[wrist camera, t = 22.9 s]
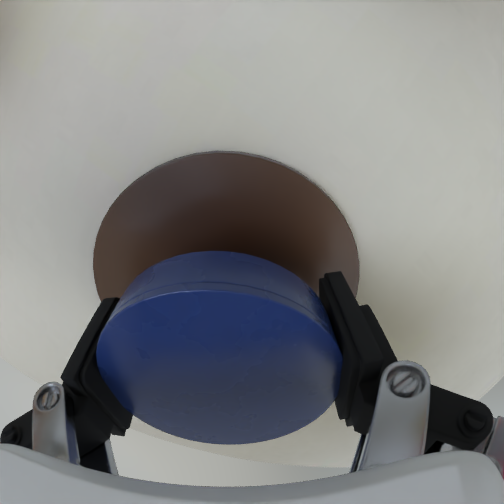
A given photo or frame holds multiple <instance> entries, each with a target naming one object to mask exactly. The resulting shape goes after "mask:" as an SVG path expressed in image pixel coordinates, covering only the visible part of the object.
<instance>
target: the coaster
mask: <svg viewBox="0 0 504 504" xmlns="http://www.w3.org/2000/svg"><path fill="white" fill-rule="evenodd" d="M202 251H230V252H236V253H243V254H248V255H252V256H255V257H259V258H262V259H265V260H268V261H270V262H273V263H275V264H277V265H280V266H282V267H283V268H285V269H287V270H288V271H290V272H292V273H294V274H295V275H296V276H298V277H299V278H300V279H301V280H303V281H304V282H305V283H306V284H307V285H308V286H309V287H310V288H311V289H312V290H313V291H314V292H315V293H316V294H317V296H318V297H319V279H320V278H324V274H325V273H330V272H337V271H341V272H342V274H343V276H344V277H345V279H346V281H347V283H348V285H349V287H350V289H351V291H352V293H353V295H354V297H356V294H357V289H358V282H359V259H358V252H357V247H356V244H355V241H354V238H353V235H352V232H351V230H350V228H349V226H348V224H347V222H346V220H345V218H344V216H343V215H342V213H341V212H340V211H339V209H338V208H337V207H336V205H335V204H334V203H333V201H332V200H331V199H330V198H329V197H328V196H327V195H326V194H325V193H324V192H323V191H322V190H321V189H320V188H319V187H318V186H317V185H316V184H315V183H313V182H312V181H311V180H309V179H308V178H306V177H305V176H304V175H302V174H301V173H299V172H298V171H296V170H294V169H292V168H290V167H288V166H286V165H284V164H282V163H280V162H277V161H274V160H271V159H269V158H266V157H263V156H259V155H254V154H249V153H243V152H235V151H210V152H201V153H194V154H190V155H186V156H183V157H179V158H175V159H173V160H170V161H168V162H166V163H164V164H161V165H159V166H157V167H155V168H153V169H152V170H150V171H149V172H147V173H146V174H144V175H142V176H141V177H139V178H138V179H137V180H135V181H134V182H133V183H132V184H131V185H130V186H129V187H127V188H126V189H125V190H124V191H123V192H122V193H121V194H120V195H119V197H118V198H117V199H116V200H115V202H114V203H113V204H112V205H111V207H110V208H109V210H108V212H107V214H106V215H105V217H104V219H103V221H102V223H101V226H100V229H99V231H98V234H97V238H96V242H95V248H94V258H93V270H94V279H95V284H96V288H97V292H98V295H99V298H100V300H101V302H102V301H103V299H105V298H113V297H118V298H121V297H122V295H123V293H124V292H125V290H126V289H127V287H128V286H129V285H130V284H131V282H132V281H133V280H134V279H135V278H136V277H137V276H138V275H140V274H141V273H142V272H144V271H145V270H146V269H148V268H149V267H151V266H153V265H155V264H157V263H159V262H161V261H163V260H166V259H169V258H172V257H174V256H178V255H182V254H187V253H192V252H202Z"/></svg>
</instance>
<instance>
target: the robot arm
mask: <svg viewBox="0 0 504 504" xmlns="http://www.w3.org/2000/svg"><path fill="white" fill-rule="evenodd" d="M319 299H320V300H321V302H322V303H323V305H324V308H325V310H326V312H327V314H328V317H329V320H330V322H331V325H332V328H333V331H334V333H335V336H336V339H337V341H338V344H339V347H340V350H341V353H342V355H343V363H342V370H341V378H340V385H339V392H338V396H337V397H336V399H335V404H336V408H337V412H338V416H339V419H340V420H341V419H345V421H346V425H347V427H348V426H352V425H353V426H354V430H355V431H356V432H358V433H360V434H361V435H360V438H359V442H358V445H357V449H356V452H355V455H354V458H353V462H352V465H351V468H350V471H349V473H348V474H344V475H339V476H333V477H328V478H322V479H317V480H310V481H303V482H296V483H287V484H278V485H266V486H248V487H247V486H246V487H209V486H207V487H206V486H188V485H177V484H167V483H159V482H152V481H145V480H139V479H133V478H127V477H123V476H119V475H118V471H117V467H116V463H115V459H114V455H113V451H112V447H111V442H110V439H109V438H110V435H111V434H112V435H119V436H125V432H126V429H128V428H129V427H130V424H131V420H132V416H133V414H132V413H130V412H129V411H128V410H126V409H125V408H124V407H123V406H122V405H121V403H120V402H119V401H118V399H117V398H116V397H115V395H114V394H113V393H112V391H111V390H110V389H109V387H108V386H107V384H106V383H105V381H104V380H103V379H102V377H101V375H100V373H99V369H98V366H97V357H96V351H97V343H98V340H99V337H100V334H101V332H102V330H103V328H104V327H105V325H106V323H107V321H108V319H109V318H110V316H111V314H112V312H113V311H114V309H115V307H116V305H117V304H118V302H119V300H120V298H118V297H113V298H105V299H103V301H102V302H101V304H100V306H99V307H98V309H97V311H96V312H95V314H94V316H93V317H92V319H91V321H90V323H89V324H88V326H87V328H86V330H85V331H84V333H83V335H82V337H81V339H80V340H79V342H78V344H77V346H76V348H75V350H74V352H73V354H72V355H71V357H70V359H69V361H68V363H67V365H66V367H65V369H64V371H63V373H62V375H61V377H60V378H61V379H62V380H63V381H64V382H63V384H62V385H61V384H59V383H58V382H49V383H46V384H44V385H43V386H42V387H40V388H39V390H38V391H37V392H36V394H35V396H34V400H33V409H32V410H30V411H29V412H27V413H25V414H24V415H22V416H21V417H19V418H17V419H16V420H14V421H12V422H11V423H9V424H8V425H7V426H5V428H4V429H3V431H2V434H1V438H0V504H504V417H501V416H498V417H497V418H494V417H493V416H492V413H491V411H490V409H489V408H488V407H487V406H486V405H485V404H483V403H481V402H479V401H476V400H473V399H470V398H467V397H464V396H461V395H459V394H456V393H453V392H450V391H448V390H445V389H442V388H439V387H437V386H434V385H431V384H430V376H429V374H428V372H427V371H426V369H424V368H423V367H422V366H421V365H419V364H418V363H416V362H412V361H397V359H396V357H395V354H394V352H393V350H392V348H391V346H390V344H389V342H388V340H387V338H386V336H385V334H384V332H383V331H382V329H381V327H380V325H379V323H378V321H377V319H376V317H375V315H374V313H373V311H372V310H371V308H370V307H369V305H362V306H359V305H358V303H357V301H356V299H355V297H354V295H353V293H352V291H351V289H350V287H349V285H348V283H347V281H346V279H345V277H344V276H343V274H342V272H341V271H337V272H330V273H325V274H324V278H320V279H319Z"/></svg>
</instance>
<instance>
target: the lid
mask: <svg viewBox="0 0 504 504" xmlns="http://www.w3.org/2000/svg"><path fill="white" fill-rule="evenodd" d="M96 357H97V366H98V369H99V373H100V375H101V377H102V379H103V380H104V381H105V383H106V384H107V386H108V387H109V389H110V390H111V391H112V393H113V394H114V395H115V397H116V398H117V399H118V401H119V402H120V403H121V405H122V406H123V407H124V408H125V409H126V410H128V411H129V412H130V413H132V414H133V415H134V416H136V417H137V418H139V419H140V420H142V421H143V422H145V423H147V424H149V425H151V426H152V427H154V428H157V429H159V430H161V431H163V432H166V433H168V434H171V435H174V436H177V437H181V438H184V439H188V440H193V441H198V442H204V443H212V444H248V443H256V442H262V441H267V440H271V439H275V438H278V437H281V436H284V435H287V434H290V433H292V432H294V431H297V430H299V429H301V428H302V427H304V426H306V425H308V424H309V423H311V422H312V421H314V420H315V419H317V418H318V417H319V416H320V415H322V414H323V413H324V412H325V411H326V410H327V409H328V408H329V407H330V406H331V404H332V403H333V402H334V400H335V399H336V397H337V396H338V392H339V385H340V378H341V370H342V363H343V355H342V353H341V350H340V347H339V344H338V341H337V339H336V336H335V333H334V331H333V328H332V325H331V322H330V320H329V317H328V314H327V312H326V310H325V308H324V305H323V303H322V302H321V300H320V299H319V297H318V296H317V294H316V293H315V292H314V291H313V290H312V289H311V288H310V287H309V286H308V285H307V284H306V283H305V282H304V281H303V280H301V279H300V278H299V277H298V276H296V275H295V274H294V273H292V272H290V271H288V270H287V269H285V268H283V267H282V266H280V265H277V264H275V263H273V262H270V261H268V260H265V259H262V258H259V257H255V256H252V255H248V254H243V253H236V252H230V251H202V252H192V253H187V254H182V255H178V256H174V257H172V258H169V259H166V260H163V261H161V262H159V263H157V264H155V265H153V266H151V267H149V268H148V269H146V270H145V271H144V272H142V273H141V274H140V275H138V276H137V277H136V278H135V279H134V280H133V281H132V282H131V284H130V285H129V286H128V287H127V289H126V290H125V292H124V293H123V295H122V297H121V298H120V300H119V302H118V304H117V305H116V307H115V309H114V311H113V312H112V314H111V316H110V318H109V319H108V321H107V323H106V325H105V327H104V328H103V330H102V332H101V334H100V337H99V340H98V343H97V351H96Z"/></svg>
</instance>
